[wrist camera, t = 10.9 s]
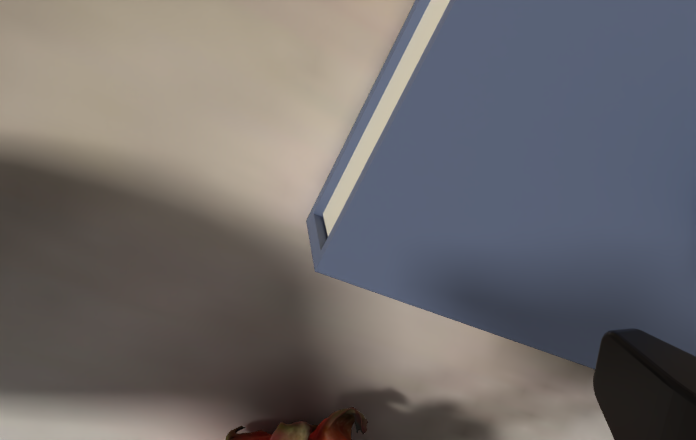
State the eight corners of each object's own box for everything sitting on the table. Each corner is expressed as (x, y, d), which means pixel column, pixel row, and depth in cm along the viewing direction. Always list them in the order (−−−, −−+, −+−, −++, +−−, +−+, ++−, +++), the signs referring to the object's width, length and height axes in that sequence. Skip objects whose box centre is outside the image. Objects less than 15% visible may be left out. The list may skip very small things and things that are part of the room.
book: (654, 351, 26) (706, 408, 23) (306, 220, 21) (314, 271, 18) (859, 92, 22) (955, 120, 19) (485, -141, 17) (534, -153, 14)
